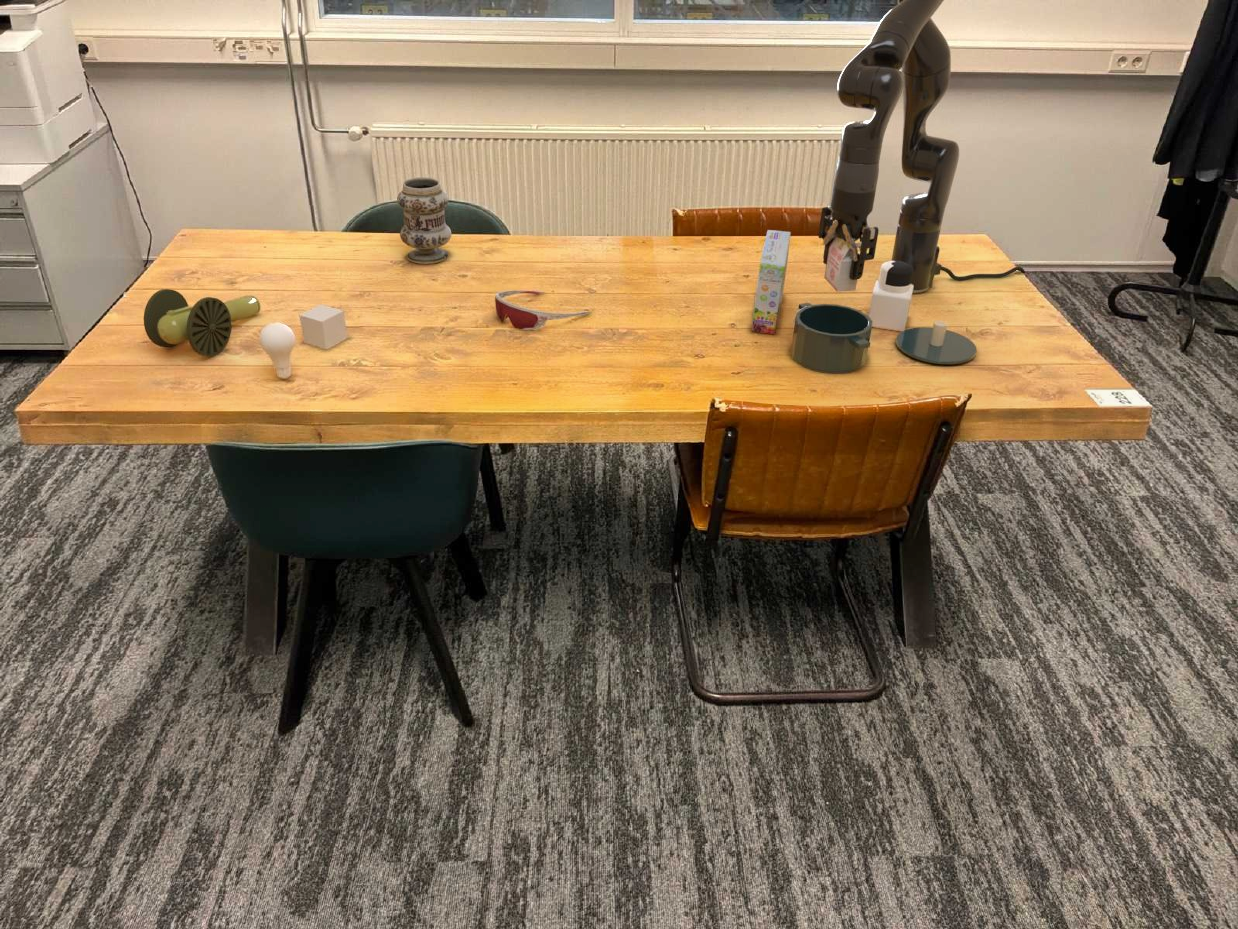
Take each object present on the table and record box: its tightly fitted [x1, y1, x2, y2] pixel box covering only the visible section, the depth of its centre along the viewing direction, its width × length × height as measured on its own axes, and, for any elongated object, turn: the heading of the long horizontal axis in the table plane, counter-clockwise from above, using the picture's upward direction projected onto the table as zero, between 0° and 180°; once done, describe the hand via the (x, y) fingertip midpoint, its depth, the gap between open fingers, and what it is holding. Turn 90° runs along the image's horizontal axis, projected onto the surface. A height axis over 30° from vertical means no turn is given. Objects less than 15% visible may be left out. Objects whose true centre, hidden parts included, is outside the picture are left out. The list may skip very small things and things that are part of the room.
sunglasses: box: [494, 289, 589, 331], centre depth 200 cm, size 17×17×5 cm
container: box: [868, 260, 914, 333], centre depth 197 cm, size 8×8×13 cm
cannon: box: [143, 288, 261, 358], centre depth 186 cm, size 25×12×11 cm, turn 160°
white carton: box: [823, 237, 858, 293], centre depth 176 cm, size 4×7×10 cm, turn 9°
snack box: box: [750, 229, 792, 335], centre depth 199 cm, size 21×6×15 cm, turn 168°
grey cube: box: [298, 304, 349, 350], centre depth 188 cm, size 6×6×6 cm
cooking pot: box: [790, 302, 873, 374], centre depth 185 cm, size 15×20×8 cm
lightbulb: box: [258, 322, 296, 380], centre depth 173 cm, size 6×6×11 cm
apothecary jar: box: [396, 177, 452, 265], centre depth 222 cm, size 12×12×18 cm
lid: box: [895, 320, 978, 365], centre depth 189 cm, size 16×16×6 cm
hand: (841, 271), depth 177 cm, fingers closed on white carton, 7 cm apart
